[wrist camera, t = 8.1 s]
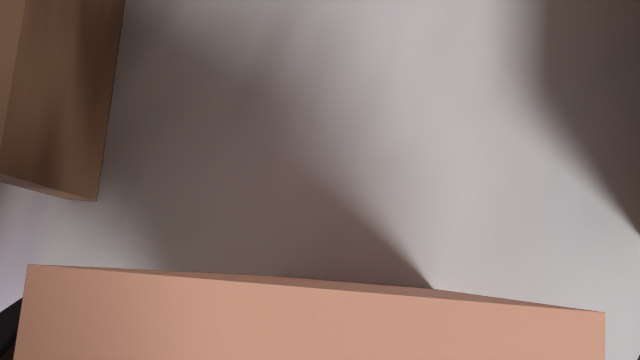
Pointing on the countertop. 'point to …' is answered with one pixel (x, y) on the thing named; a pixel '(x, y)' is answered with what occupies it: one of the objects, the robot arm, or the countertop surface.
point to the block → (283, 320)
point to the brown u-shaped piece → (56, 92)
